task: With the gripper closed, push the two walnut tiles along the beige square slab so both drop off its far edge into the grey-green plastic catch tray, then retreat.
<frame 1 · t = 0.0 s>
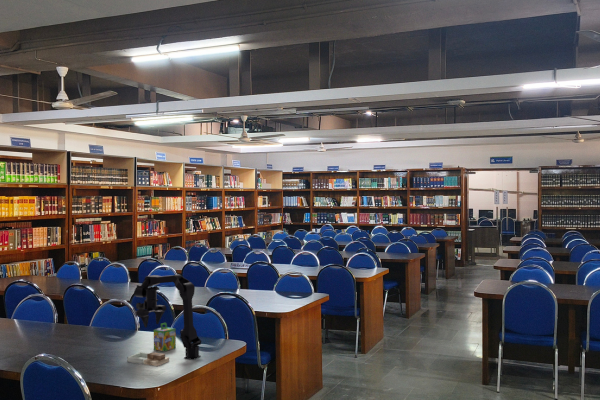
hand: (151, 325, 293), 15 cm above the table, fingers open, 9 cm apart
catch tray: (141, 360, 277), on the table
chalk box: (164, 349, 299), on the table
tile b: (152, 358, 273), point 2 cm above the table, touching beige square slab
beige square slab: (156, 362, 272), on the table
tile a: (159, 359, 271), point 2 cm above the table, touching beige square slab
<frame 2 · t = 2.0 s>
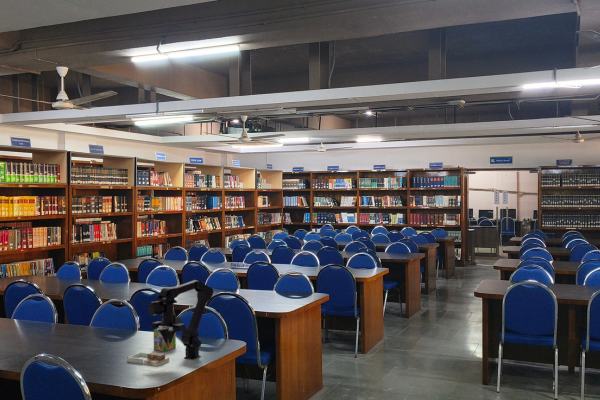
hand: (168, 343, 269), 11 cm above the table, fingers closed
nothing on the table moved.
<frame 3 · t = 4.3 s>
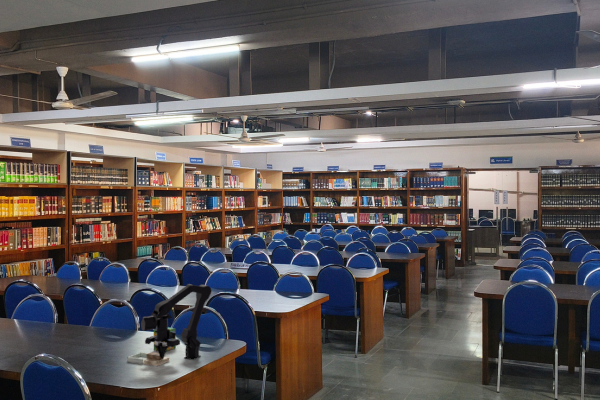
hand: (162, 358, 270), 3 cm above the table, fingers closed
tile b: (152, 358, 274), point 2 cm above the table, touching tile a
tile a: (158, 359, 272), point 2 cm above the table, touching gripper, tile b
everything else where it was.
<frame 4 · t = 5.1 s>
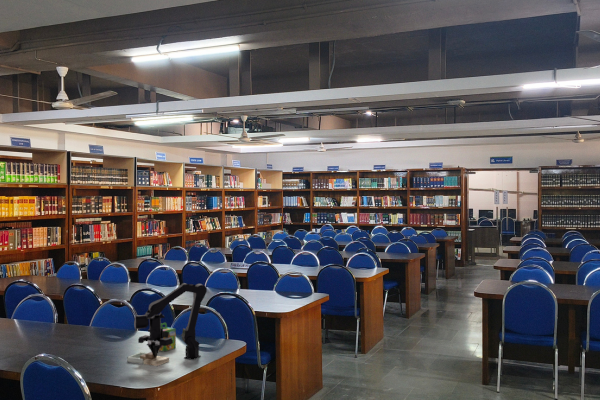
hand: (155, 357, 272), 3 cm above the table, fingers closed
tile b: (145, 360, 276), resting on catch tray
tile a: (151, 358, 274), point 2 cm above the table, touching beige square slab, gripper
everything else where it was.
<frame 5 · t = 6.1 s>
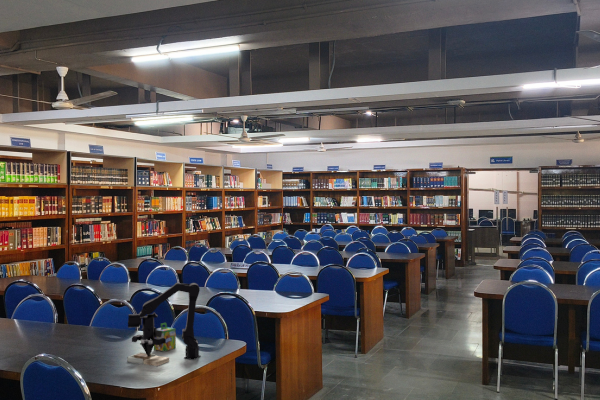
hand: (148, 356, 275), 3 cm above the table, fingers closed
tile b: (139, 359, 277), resting on catch tray, touching tile a
tile a: (145, 360, 275), resting on catch tray, touching gripper, tile b
everything else where it was.
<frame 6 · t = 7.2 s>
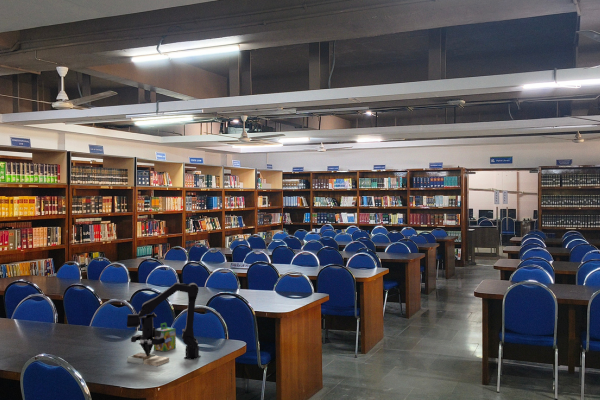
hand: (148, 356, 275), 3 cm above the table, fingers closed
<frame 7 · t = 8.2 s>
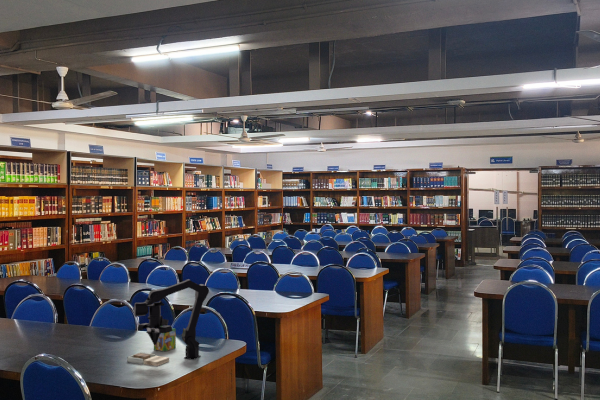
hand: (155, 344, 272), 9 cm above the table, fingers closed
tile a: (144, 360, 276), resting on catch tray, touching tile b
everything else where it was.
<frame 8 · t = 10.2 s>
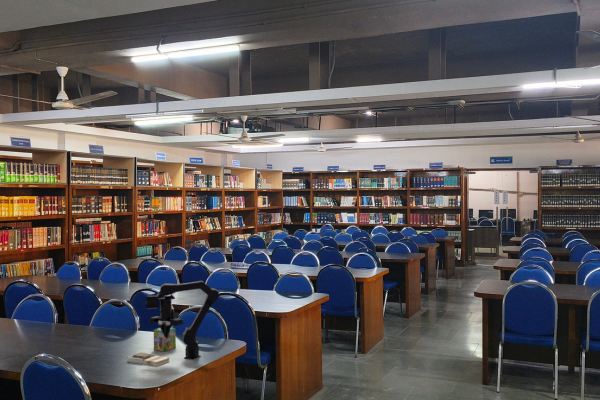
hand: (166, 337, 277), 12 cm above the table, fingers closed
nothing on the table moved.
at the end: tile a inside the target area on the catch tray (2.2 cm from its centre), point 0.5 cm above the catch tray's base; tile b inside the target area on the catch tray (1.8 cm from its centre), point 0.5 cm above the catch tray's base; tile a touching catch tray, tile b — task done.
